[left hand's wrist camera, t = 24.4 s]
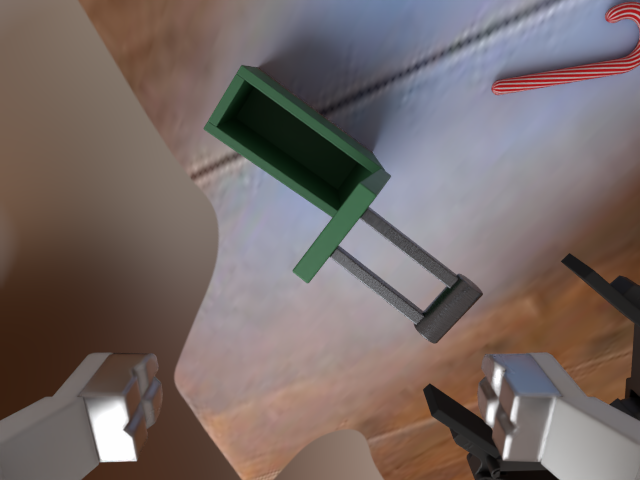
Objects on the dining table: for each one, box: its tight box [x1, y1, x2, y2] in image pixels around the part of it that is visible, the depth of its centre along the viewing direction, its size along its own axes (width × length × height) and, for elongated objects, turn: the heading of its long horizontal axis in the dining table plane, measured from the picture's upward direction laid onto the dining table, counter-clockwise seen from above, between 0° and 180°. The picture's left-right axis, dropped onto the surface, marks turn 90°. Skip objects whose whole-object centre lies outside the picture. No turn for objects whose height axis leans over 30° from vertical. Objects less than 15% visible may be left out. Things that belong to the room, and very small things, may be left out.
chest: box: [204, 65, 385, 217], centre depth 39 cm, size 14×6×9 cm, turn 55°
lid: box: [293, 169, 483, 343], centre depth 28 cm, size 15×6×9 cm
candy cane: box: [492, 2, 640, 95], centre depth 39 cm, size 6×15×2 cm, turn 100°
